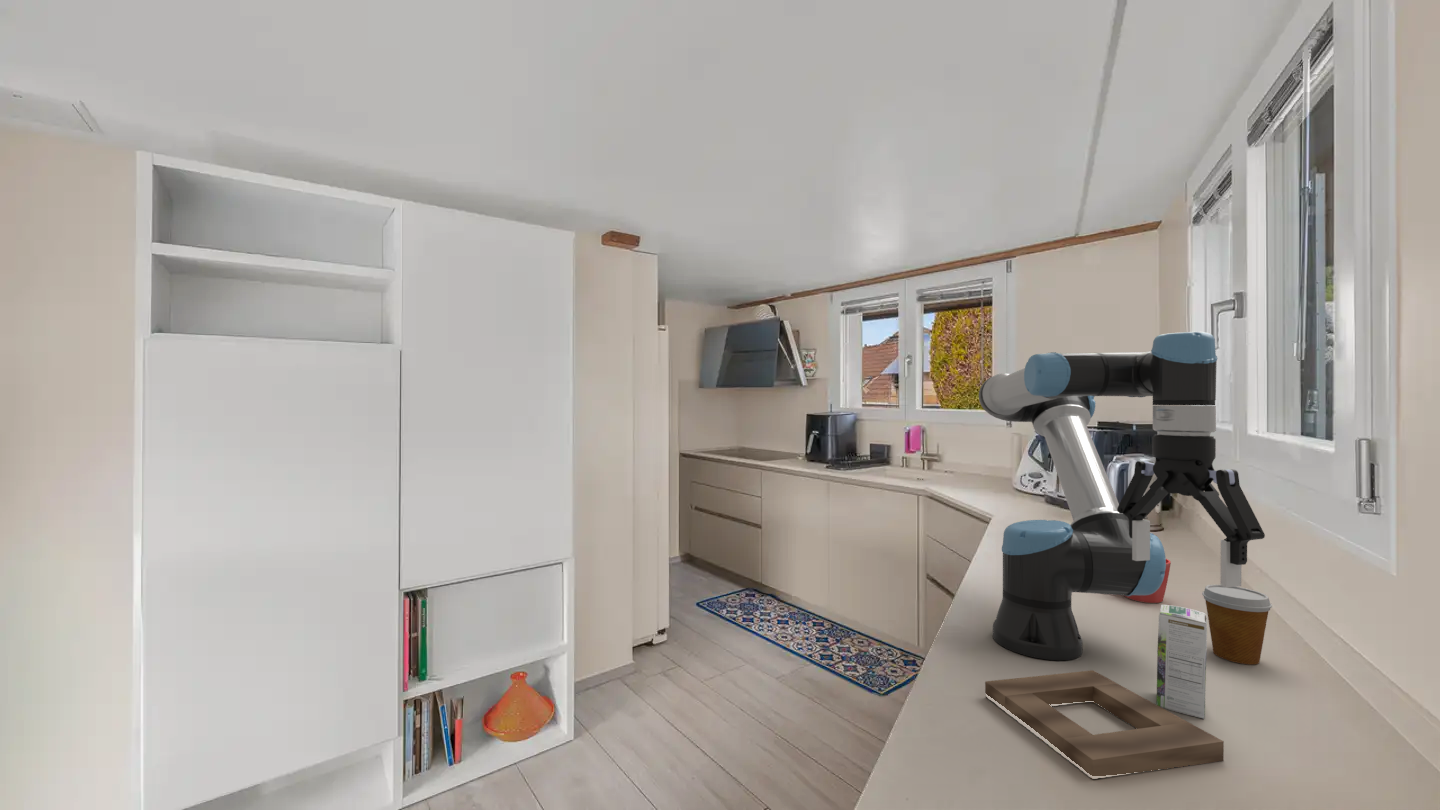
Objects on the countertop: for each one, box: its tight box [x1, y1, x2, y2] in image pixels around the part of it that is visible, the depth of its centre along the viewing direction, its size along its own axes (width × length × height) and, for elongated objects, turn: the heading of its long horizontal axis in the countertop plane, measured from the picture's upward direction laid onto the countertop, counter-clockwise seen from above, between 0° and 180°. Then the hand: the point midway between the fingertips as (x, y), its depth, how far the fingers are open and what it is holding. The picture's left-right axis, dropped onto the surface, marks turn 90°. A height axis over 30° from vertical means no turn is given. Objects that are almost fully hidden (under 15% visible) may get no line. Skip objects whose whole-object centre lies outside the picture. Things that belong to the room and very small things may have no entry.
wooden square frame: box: [984, 669, 1225, 776], centre depth 81 cm, size 20×20×2 cm
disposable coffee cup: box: [1201, 584, 1273, 666], centre depth 104 cm, size 10×10×12 cm
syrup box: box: [1156, 604, 1208, 720], centre depth 86 cm, size 6×6×14 cm
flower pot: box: [1123, 558, 1171, 604], centre depth 135 cm, size 11×11×10 cm
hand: (1182, 572), depth 86 cm, fingers open, 13 cm apart
